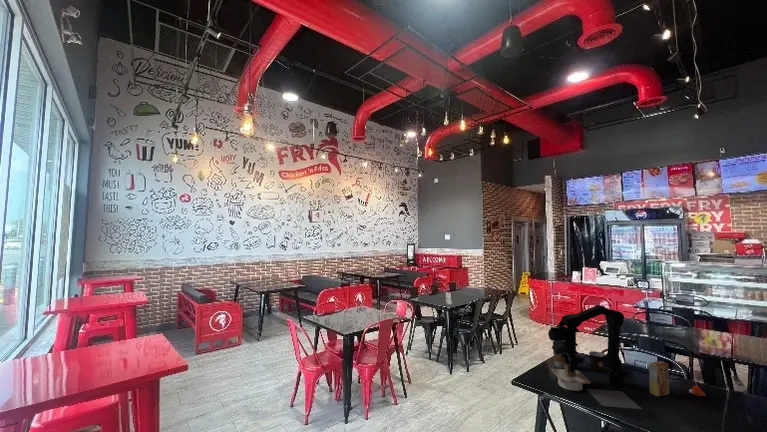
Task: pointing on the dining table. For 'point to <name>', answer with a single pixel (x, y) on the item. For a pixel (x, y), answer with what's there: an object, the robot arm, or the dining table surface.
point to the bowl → (571, 385)
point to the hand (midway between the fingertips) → (570, 370)
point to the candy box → (659, 378)
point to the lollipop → (696, 389)
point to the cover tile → (571, 379)
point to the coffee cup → (558, 357)
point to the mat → (613, 398)
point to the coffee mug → (596, 361)
